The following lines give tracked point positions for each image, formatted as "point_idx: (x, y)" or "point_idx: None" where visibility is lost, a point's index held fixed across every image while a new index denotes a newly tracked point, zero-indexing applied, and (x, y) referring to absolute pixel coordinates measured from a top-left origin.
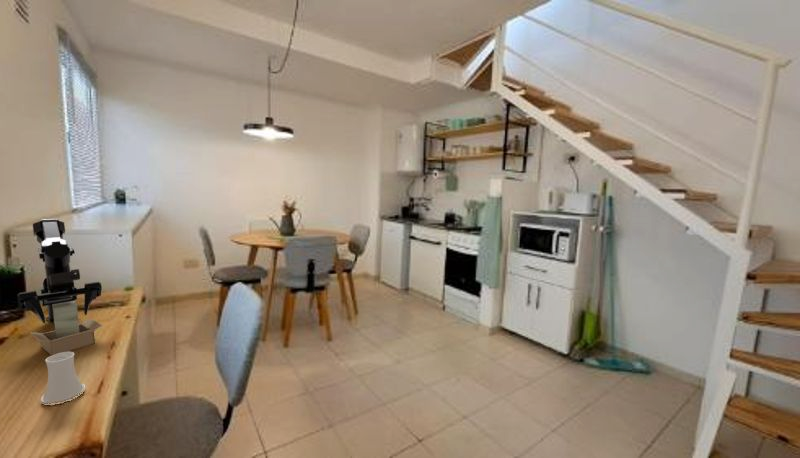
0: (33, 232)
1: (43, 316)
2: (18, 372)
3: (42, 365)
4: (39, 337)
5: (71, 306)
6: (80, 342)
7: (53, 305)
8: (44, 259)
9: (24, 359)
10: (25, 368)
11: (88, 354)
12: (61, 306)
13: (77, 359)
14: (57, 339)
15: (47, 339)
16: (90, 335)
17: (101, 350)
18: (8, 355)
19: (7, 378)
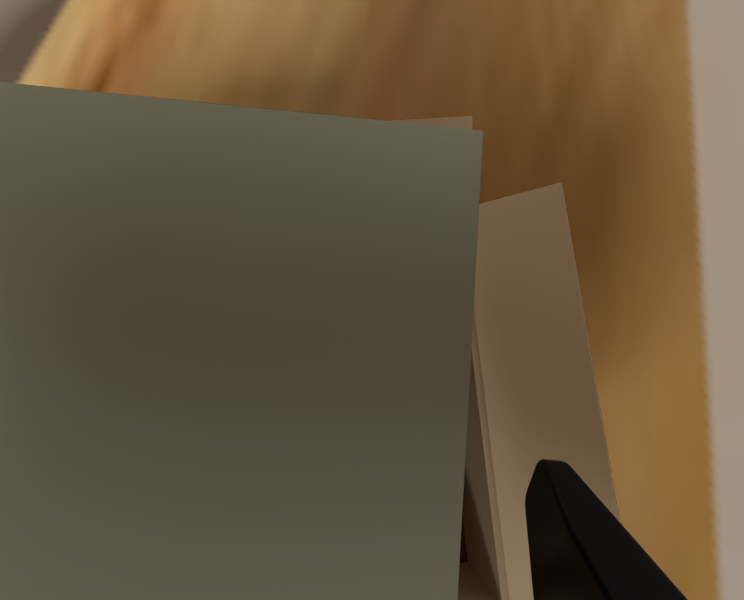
0: None
1: (586, 534)
2: (636, 124)
3: (513, 125)
4: (555, 344)
5: (78, 106)
6: None
7: (437, 550)
8: None
9: (603, 347)
10: (601, 158)
11: (255, 83)
12: (279, 201)
13: (329, 52)
14: (425, 121)
15: (483, 304)
16: None
17: (170, 86)
18: (705, 561)
19: (687, 79)
